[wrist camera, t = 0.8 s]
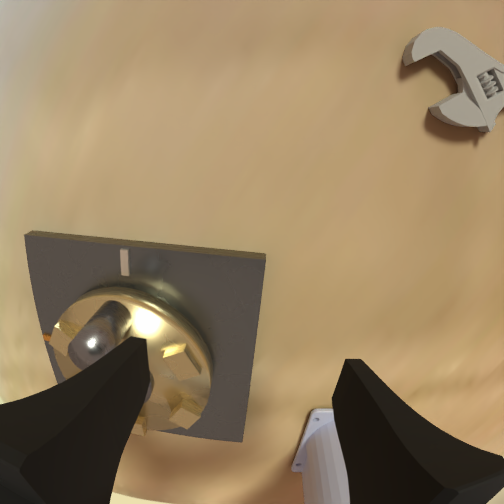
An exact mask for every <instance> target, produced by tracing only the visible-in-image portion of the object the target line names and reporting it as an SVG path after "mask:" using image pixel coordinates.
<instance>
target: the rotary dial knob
mask: <svg viewBox="0 0 504 504" xmlns="http://www.w3.org/2000/svg"><path fill="white" fill-rule="evenodd" d="M130 336H133V337H139V338H144V339H146V340H147V351H148V362H149V371H150V384H149V387H148V391H147V394H146V398H145V401H144V404H143V406H142V409H141V411H140V413H139V415H138V418H137V420H136V422H135V424H134V427H133V429H132V431H131V433H132V434H136V435H140V436H145V433H146V430H168V429H174V428H178V427H183V428H185V429H188V428H190V427H191V426H192V425H193V424H194V423H195V422H196V421H197V420H198V419H199V418H200V417H201V413H202V411H203V410H204V408H205V406H206V405H207V402H208V399H209V394H210V389H211V383H212V377H213V363H212V359H211V355H210V352H209V349H208V347H207V345H206V343H205V341H204V339H203V338H202V336H201V335H200V333H199V332H198V330H197V329H196V328H195V327H194V326H193V325H192V323H191V322H190V321H189V320H188V319H187V318H186V317H185V316H183V315H182V314H181V313H180V312H179V311H178V310H176V309H175V308H173V307H172V306H171V305H169V304H168V303H166V302H164V301H162V300H161V299H159V298H157V297H155V296H152V295H150V294H148V293H145V292H142V291H139V290H136V289H131V288H126V287H115V286H114V287H103V288H98V289H94V290H92V291H89V292H87V293H85V294H84V295H82V296H81V297H79V298H78V299H77V300H76V301H75V302H74V303H73V304H72V305H71V306H70V307H69V308H68V309H67V310H66V311H65V312H64V313H63V314H62V315H61V317H60V318H59V320H58V322H57V324H56V325H55V326H54V329H53V332H52V335H51V338H50V342H49V344H50V345H51V346H53V348H54V353H55V358H56V361H57V363H58V366H59V368H60V370H61V372H62V374H63V376H64V377H65V379H66V380H67V379H69V378H71V377H73V376H74V375H76V374H77V373H79V372H81V371H82V370H84V369H85V368H87V367H88V366H90V365H92V364H93V363H95V362H96V361H97V360H99V359H100V358H102V357H103V356H104V355H106V354H107V353H109V352H110V351H111V350H113V349H114V348H115V347H117V346H118V345H119V344H121V343H122V342H123V341H125V340H126V339H127V338H129V337H130Z"/></svg>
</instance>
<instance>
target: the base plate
mask: <svg viewBox="0 0 504 504" xmlns="http://www.w3.org/2000/svg"><path fill="white" fill-rule="evenodd" d="M24 237H25V246H26V253H27V260H28V267H29V273H30V279H31V285H32V290H33V295H34V300H35V305H36V309H37V314H38V318H39V322H40V326H41V330H42V334H43V338H44V341H45V345H46V348H47V352H48V355H49V358H50V362H51V365H52V368H53V371H54V374H55V377H56V380H57V383H58V384H60V383H62V382H63V381H65V380H66V379H65V377H64V376H63V374H62V372H61V370H60V368H59V366H58V363H57V361H56V358H55V353H54V348H53V346H51V345H50V344H49V342H50V338H51V335H52V332H53V329H54V326H55V325H56V324H57V322H58V320H59V318H60V317H61V315H62V314H63V313H64V312H65V311H66V310H67V309H68V308H69V307H70V306H71V305H72V304H73V303H74V302H75V301H76V300H77V299H78V298H79V297H81V296H82V295H84V294H85V293H87V292H89V291H92V290H94V289H98V288H103V287H114V286H115V287H126V288H131V289H136V290H139V291H142V292H145V293H148V294H150V295H152V296H155V297H157V298H159V299H161V300H162V301H164V302H166V303H168V304H169V305H171V306H172V307H173V308H175V309H176V310H178V311H179V312H180V313H181V314H182V315H183V316H185V317H186V318H187V319H188V320H189V321H190V322H191V323H192V325H193V326H194V327H195V328H196V329H197V330H198V332H199V333H200V335H201V336H202V338H203V339H204V341H205V343H206V345H207V347H208V349H209V352H210V355H211V359H212V363H213V377H212V383H211V389H210V394H209V399H208V402H207V405H206V406H205V408H204V410H203V411H202V413H201V417H200V418H199V419H198V420H197V421H196V422H195V423H194V424H193V425H192V426H191V427H190V428H188V429H185V428H183V427H178V428H174V429H168V430H157V431H162V432H167V433H173V434H179V435H185V436H191V437H198V438H205V439H213V440H222V441H232V442H242V441H243V434H244V426H245V419H246V412H247V404H248V397H249V389H250V382H251V374H252V367H253V359H254V351H255V344H256V336H257V328H258V320H259V312H260V304H261V296H262V287H263V279H264V271H265V262H266V254H264V253H254V252H244V251H234V250H224V249H213V248H203V247H193V246H183V245H173V244H163V243H153V242H143V241H133V240H122V239H112V238H102V237H92V236H82V235H72V234H62V233H52V232H42V231H31V232H29V233H27V234H25V235H24Z"/></svg>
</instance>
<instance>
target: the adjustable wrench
mask: <svg viewBox="0 0 504 504" xmlns="http://www.w3.org/2000/svg"><path fill="white" fill-rule="evenodd" d="M429 55H433V56H434V57H435V58H436V59H438V60H439V61H440V62H442V63H443V64H444V65H445V66H446V67H448V68H449V69H450V71H451V73H452V75H453V77H454V79H455V81H456V83H457V85H458V93H457V94H452V95H450V96H448V97H446V98H445V99H443V100H441V101H439V102H437V103H436V104H434V105H432V106H430V107H428V108H429V110H430V112H431V114H432V115H433V116H434V117H436V118H438V119H439V120H441V121H443V122H445V123H448V124H450V125H454V126H458V127H477V128H478V130H479V132H491V130H492V129H493V127H494V126H495V125H496V124H495V122H494V121H495V119H496V116H497V115H498V113H499V112H500V111H501V109H502V108H503V107H504V65H503V64H502V63H500V62H499V61H497V60H496V59H494V58H493V57H491V56H490V55H488V54H487V53H485V52H484V51H482V50H481V49H479V48H478V47H477V46H475V45H474V44H473V43H471V42H470V41H469V40H467V39H466V38H464V37H463V36H461V35H460V34H459V33H457V32H455V31H453V30H450V29H447V28H443V27H434V28H430V29H427V30H425V31H423V32H421V33H420V34H418V35H417V36H415V37H414V38H412V39H411V41H410V42H409V43H408V44H407V45H406V47H405V50H404V54H403V57H402V58H403V62H404V65H405V66H407V65H409V64H411V63H413V62H416V61H418V60H420V59H422V58H424V57H426V56H429Z"/></svg>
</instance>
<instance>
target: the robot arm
mask: <svg viewBox="0 0 504 504" xmlns="http://www.w3.org/2000/svg"><path fill="white" fill-rule="evenodd" d="M149 384H150V371H149V362H148V351H147V340H146V339H144V338H139V337H133V336H130V337H129V338H127V339H126V340H125V341H123V342H122V343H121V344H119V345H118V346H117V347H115V348H114V349H113V350H111V351H110V352H109V353H107V354H106V355H104V356H103V357H102V358H100V359H99V360H97V361H96V362H95V363H93V364H92V365H90V366H88V367H87V368H85V369H84V370H82V371H81V372H79V373H77V374H76V375H74V376H73V377H71V378H69V379H67V380H65V381H63V382H62V383H60V384H57V385H55V386H53V387H51V388H49V389H47V390H44V391H42V392H39V393H37V394H34V395H31V396H29V397H26V398H23V399H20V400H16V401H13V402H9V403H5V404H0V504H109V503H110V498H111V494H112V489H113V485H114V481H115V477H116V473H117V469H118V466H119V462H120V459H121V455H122V453H123V450H124V447H125V445H126V443H127V440H128V438H129V436H130V433H131V431H132V429H133V427H134V424H135V422H136V420H137V418H138V415H139V413H140V411H141V409H142V406H143V404H144V401H145V398H146V394H147V391H148V387H149ZM332 405H333V409H314V410H313V411H311V413H310V416H309V419H308V422H307V425H306V428H305V431H304V434H303V437H302V439H301V442H300V445H299V448H298V451H297V453H296V456H295V459H294V461H293V464H292V466H291V471H293V472H302V482H303V493H304V504H486V503H487V502H488V501H489V500H491V499H492V498H493V497H494V496H495V495H496V494H497V493H498V492H499V491H500V490H501V489H502V488H503V487H504V458H503V457H502V456H500V455H497V454H494V453H490V452H487V451H484V450H481V449H479V448H476V447H474V446H472V445H469V444H467V443H465V442H463V441H461V440H459V439H457V438H455V437H453V436H451V435H449V434H448V433H446V432H444V431H442V430H441V429H439V428H438V427H436V426H435V425H433V424H432V423H430V422H429V421H427V420H426V419H425V418H423V417H422V416H421V415H419V414H418V413H417V412H415V411H414V410H413V409H412V408H411V407H410V406H408V405H407V404H406V403H405V402H404V401H403V400H402V399H400V398H399V397H398V396H397V395H396V394H395V393H394V392H393V391H392V390H391V389H390V388H389V387H388V386H387V385H386V384H385V383H384V382H383V381H382V380H381V379H380V378H379V377H378V376H377V375H376V374H375V373H374V372H373V371H372V370H371V369H370V368H369V367H368V366H367V365H366V364H365V363H364V362H363V361H362V360H361V359H345V362H344V365H343V368H342V371H341V374H340V377H339V380H338V382H337V385H336V388H335V391H334V394H333V396H332Z"/></svg>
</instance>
